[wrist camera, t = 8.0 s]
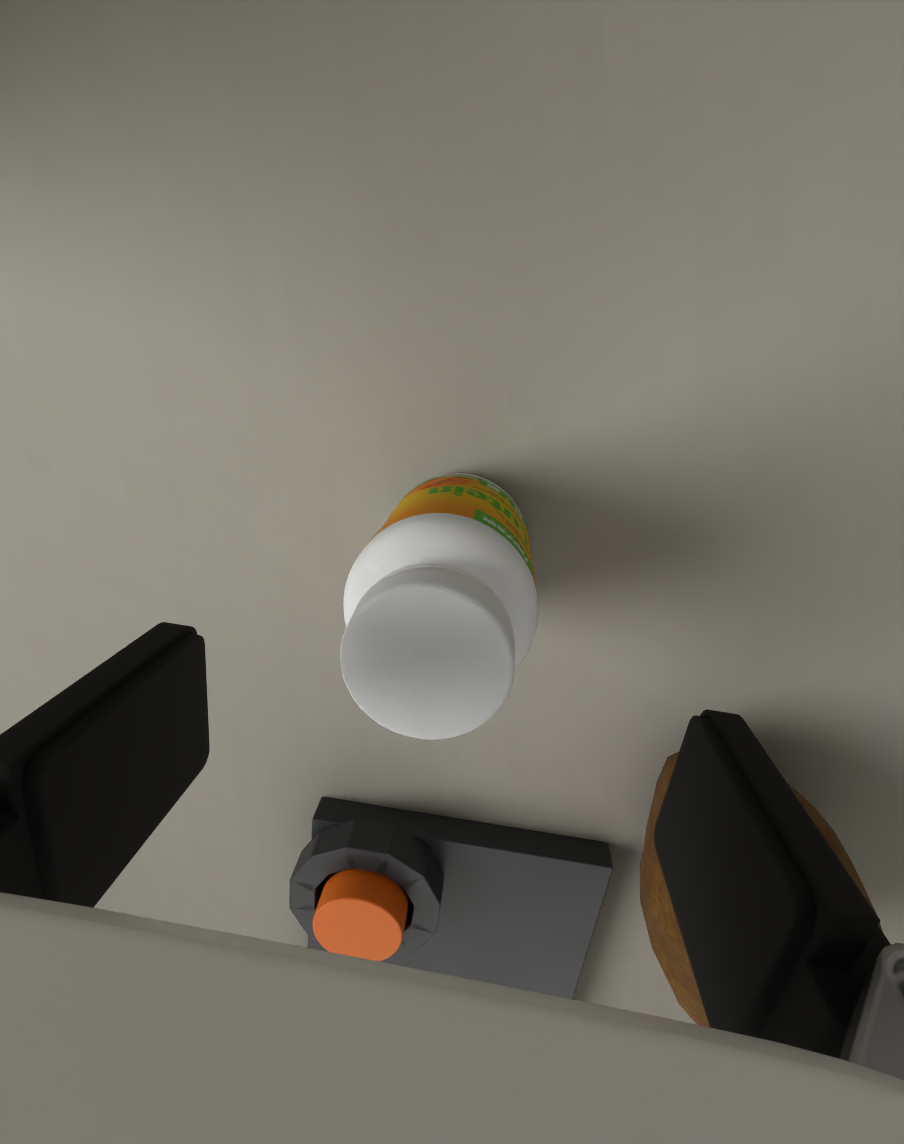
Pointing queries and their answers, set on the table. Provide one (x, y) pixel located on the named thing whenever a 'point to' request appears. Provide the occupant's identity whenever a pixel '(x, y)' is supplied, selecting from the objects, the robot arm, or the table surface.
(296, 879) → the dark grey button base
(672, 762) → the potato
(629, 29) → the table surface
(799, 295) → the table surface
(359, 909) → the button
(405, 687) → the supplement bottle
